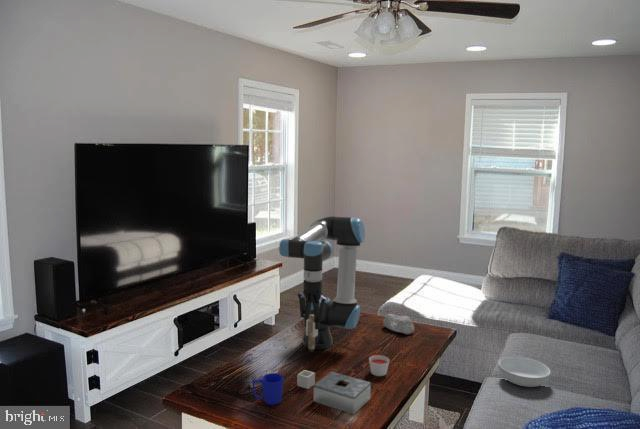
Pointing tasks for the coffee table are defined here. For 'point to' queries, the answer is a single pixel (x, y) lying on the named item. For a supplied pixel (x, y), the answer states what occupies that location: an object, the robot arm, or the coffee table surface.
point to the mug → (270, 388)
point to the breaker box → (342, 392)
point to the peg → (311, 334)
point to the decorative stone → (399, 323)
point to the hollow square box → (306, 379)
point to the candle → (379, 365)
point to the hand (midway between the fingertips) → (311, 335)
